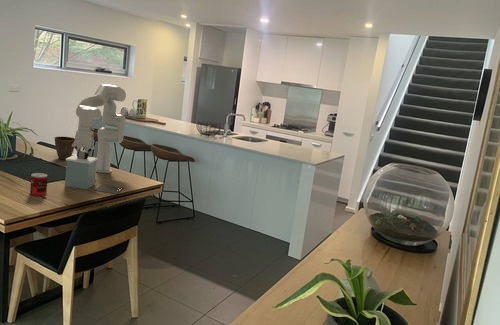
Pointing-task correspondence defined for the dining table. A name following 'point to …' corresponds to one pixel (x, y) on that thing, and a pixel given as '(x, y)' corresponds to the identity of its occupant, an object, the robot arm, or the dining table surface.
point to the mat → (108, 189)
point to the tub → (80, 174)
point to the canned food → (38, 184)
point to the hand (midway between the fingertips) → (82, 157)
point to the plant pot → (64, 147)
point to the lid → (81, 158)
